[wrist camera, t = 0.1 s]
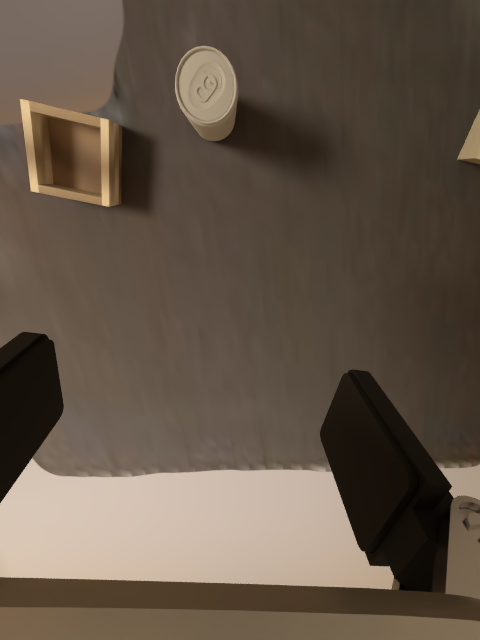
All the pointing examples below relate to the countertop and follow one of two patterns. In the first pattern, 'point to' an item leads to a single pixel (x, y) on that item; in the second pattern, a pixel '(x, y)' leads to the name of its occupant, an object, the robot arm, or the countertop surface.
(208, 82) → the beverage can
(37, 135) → the can holder block
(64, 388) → the countertop surface
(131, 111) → the countertop surface
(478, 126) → the electrical outlet
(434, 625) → the robot arm
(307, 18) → the countertop surface
